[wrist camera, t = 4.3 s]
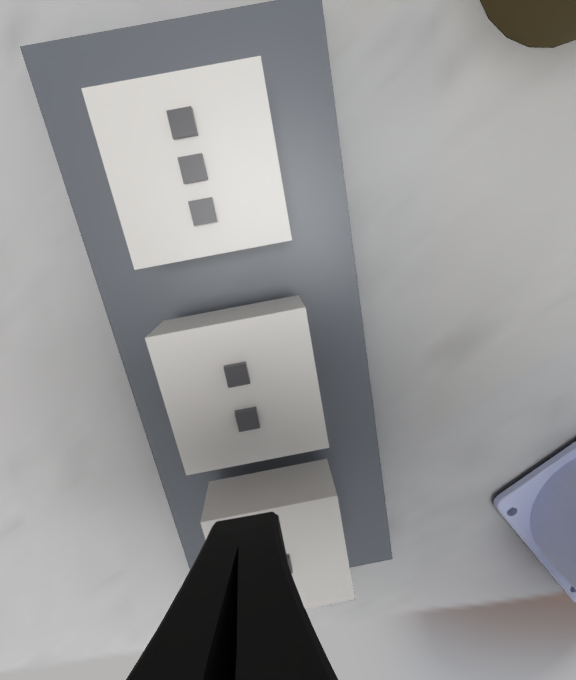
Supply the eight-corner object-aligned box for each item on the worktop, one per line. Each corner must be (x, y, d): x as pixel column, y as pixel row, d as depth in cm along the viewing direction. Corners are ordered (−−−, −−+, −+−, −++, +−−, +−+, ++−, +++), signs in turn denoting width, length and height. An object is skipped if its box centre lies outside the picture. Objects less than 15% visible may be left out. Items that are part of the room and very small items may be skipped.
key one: (343, 552, 17) (356, 604, 15) (235, 573, 17) (230, 629, 15) (327, 458, 16) (338, 499, 13) (209, 481, 16) (199, 526, 13)
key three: (287, 238, 14) (292, 240, 12) (154, 263, 14) (132, 270, 12) (260, 85, 13) (260, 52, 10) (112, 112, 13) (77, 85, 10)
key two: (319, 416, 15) (330, 450, 13) (197, 440, 15) (185, 479, 13) (298, 295, 14) (306, 308, 11) (163, 320, 14) (142, 339, 11)
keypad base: (387, 546, 20) (402, 585, 18) (201, 583, 20) (193, 626, 18) (317, 6, 13) (328, -39, 11) (33, 56, 13) (-12, 22, 11)
